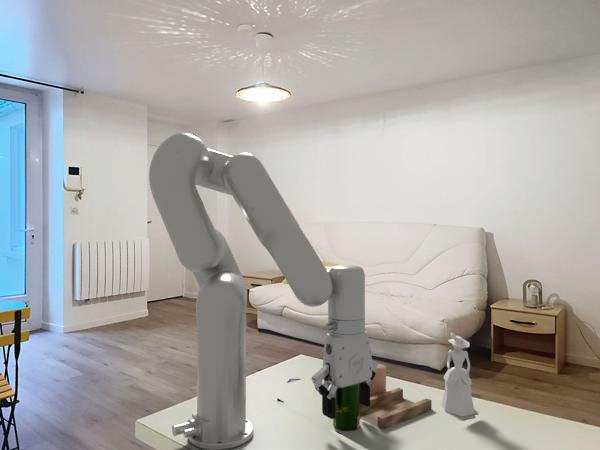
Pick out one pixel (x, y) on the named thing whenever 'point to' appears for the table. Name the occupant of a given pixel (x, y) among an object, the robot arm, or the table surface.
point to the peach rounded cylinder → (379, 381)
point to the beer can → (347, 408)
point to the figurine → (458, 381)
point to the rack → (392, 409)
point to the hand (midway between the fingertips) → (346, 410)
